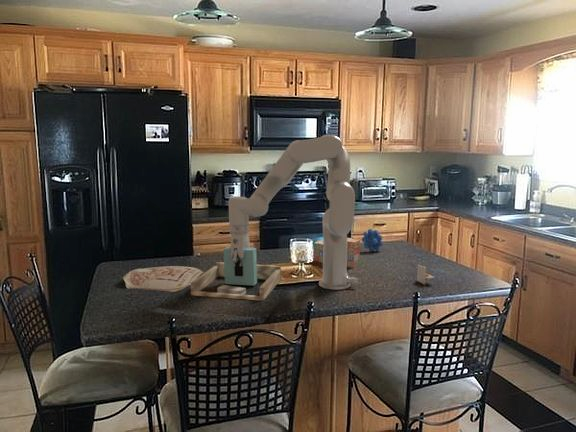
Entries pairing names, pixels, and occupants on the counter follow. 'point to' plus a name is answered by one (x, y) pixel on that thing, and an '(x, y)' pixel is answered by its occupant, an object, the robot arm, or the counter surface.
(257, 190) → the robot arm
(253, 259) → the teal rectangular block
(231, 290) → the offcut upper
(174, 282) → the poster
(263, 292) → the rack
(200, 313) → the counter surface
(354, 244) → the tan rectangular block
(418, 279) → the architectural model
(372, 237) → the blue gear
